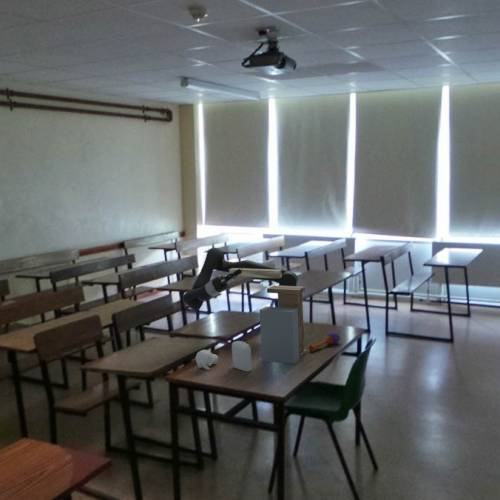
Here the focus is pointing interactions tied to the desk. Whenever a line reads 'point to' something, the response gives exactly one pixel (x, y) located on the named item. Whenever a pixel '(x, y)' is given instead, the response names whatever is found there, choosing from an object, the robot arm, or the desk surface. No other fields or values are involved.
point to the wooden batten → (258, 273)
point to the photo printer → (241, 356)
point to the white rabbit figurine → (205, 359)
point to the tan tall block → (292, 306)
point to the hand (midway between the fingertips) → (242, 269)
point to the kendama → (326, 341)
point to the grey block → (279, 334)
